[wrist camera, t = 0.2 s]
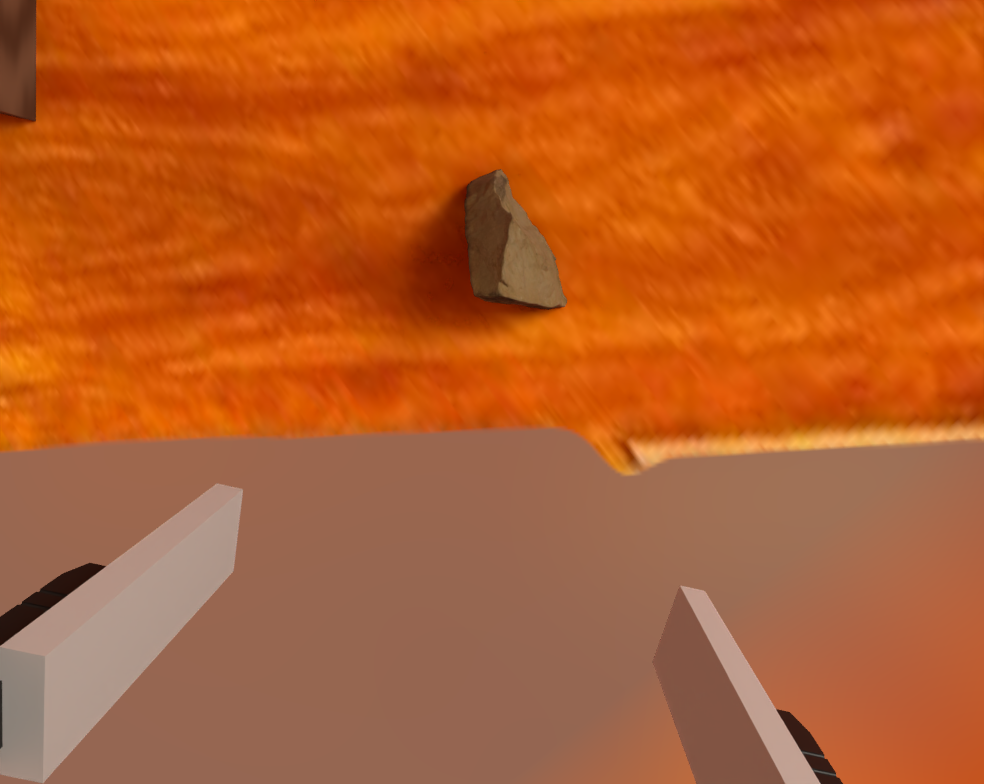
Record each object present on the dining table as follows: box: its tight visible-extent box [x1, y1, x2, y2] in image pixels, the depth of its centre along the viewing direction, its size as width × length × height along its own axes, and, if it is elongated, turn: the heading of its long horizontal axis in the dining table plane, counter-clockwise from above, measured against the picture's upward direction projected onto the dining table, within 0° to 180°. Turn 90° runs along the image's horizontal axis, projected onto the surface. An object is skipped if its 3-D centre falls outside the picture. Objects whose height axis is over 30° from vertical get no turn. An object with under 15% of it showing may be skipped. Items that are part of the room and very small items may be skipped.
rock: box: [465, 169, 567, 309], centre depth 37 cm, size 11×9×10 cm
